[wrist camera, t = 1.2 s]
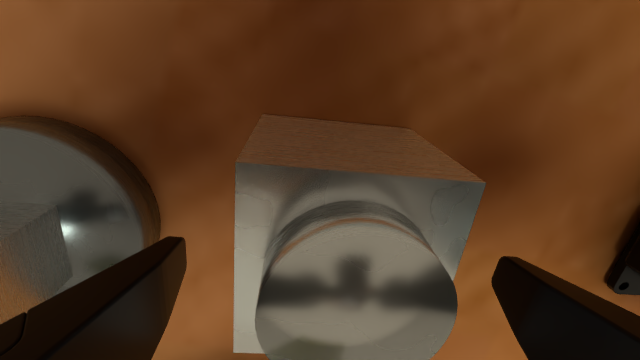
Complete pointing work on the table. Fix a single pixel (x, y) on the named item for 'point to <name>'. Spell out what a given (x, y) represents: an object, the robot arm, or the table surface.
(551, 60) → the table surface
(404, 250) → the block with round boss
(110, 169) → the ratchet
